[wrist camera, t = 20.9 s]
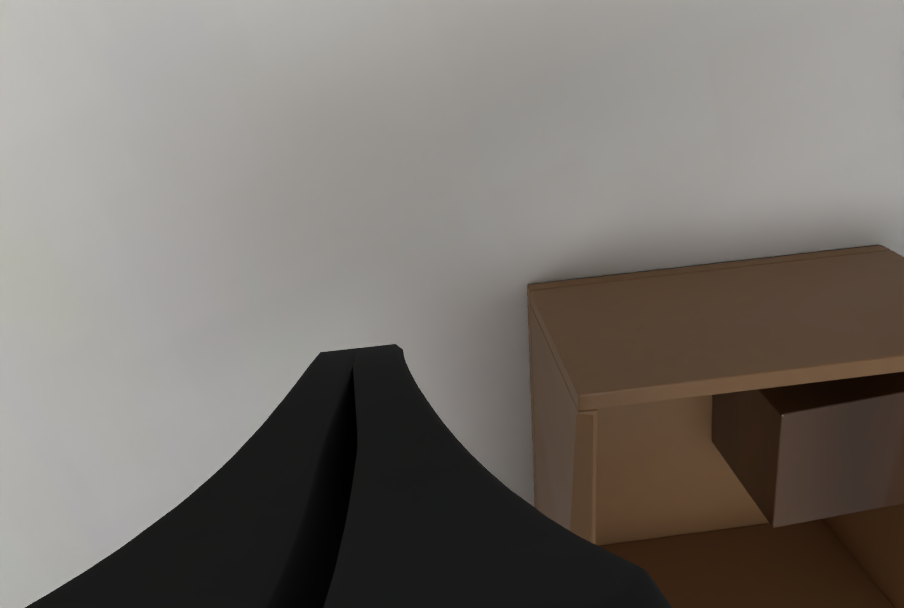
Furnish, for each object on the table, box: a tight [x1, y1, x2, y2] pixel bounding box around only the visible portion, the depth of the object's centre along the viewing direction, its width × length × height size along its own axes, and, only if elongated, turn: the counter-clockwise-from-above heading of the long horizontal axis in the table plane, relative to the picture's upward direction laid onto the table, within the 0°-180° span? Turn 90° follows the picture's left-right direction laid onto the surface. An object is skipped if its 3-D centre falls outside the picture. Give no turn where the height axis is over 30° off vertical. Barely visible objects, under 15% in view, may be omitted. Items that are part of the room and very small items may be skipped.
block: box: [712, 372, 904, 528], centre depth 22 cm, size 4×4×4 cm
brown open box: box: [527, 245, 904, 608], centre depth 22 cm, size 12×12×6 cm
